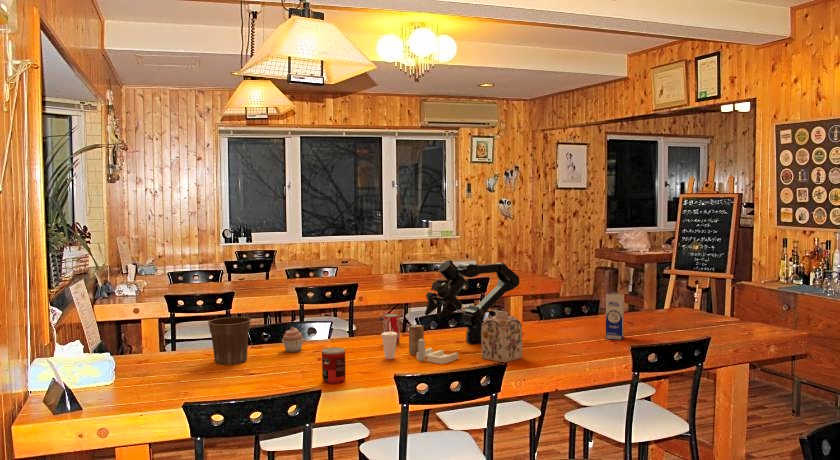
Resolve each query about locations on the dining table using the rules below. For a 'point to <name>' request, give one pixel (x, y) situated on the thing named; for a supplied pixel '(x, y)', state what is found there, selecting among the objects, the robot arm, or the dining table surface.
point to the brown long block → (415, 337)
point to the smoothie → (389, 343)
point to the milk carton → (614, 316)
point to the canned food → (333, 365)
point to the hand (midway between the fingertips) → (432, 316)
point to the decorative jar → (501, 338)
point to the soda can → (392, 324)
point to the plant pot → (230, 339)
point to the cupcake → (293, 340)
